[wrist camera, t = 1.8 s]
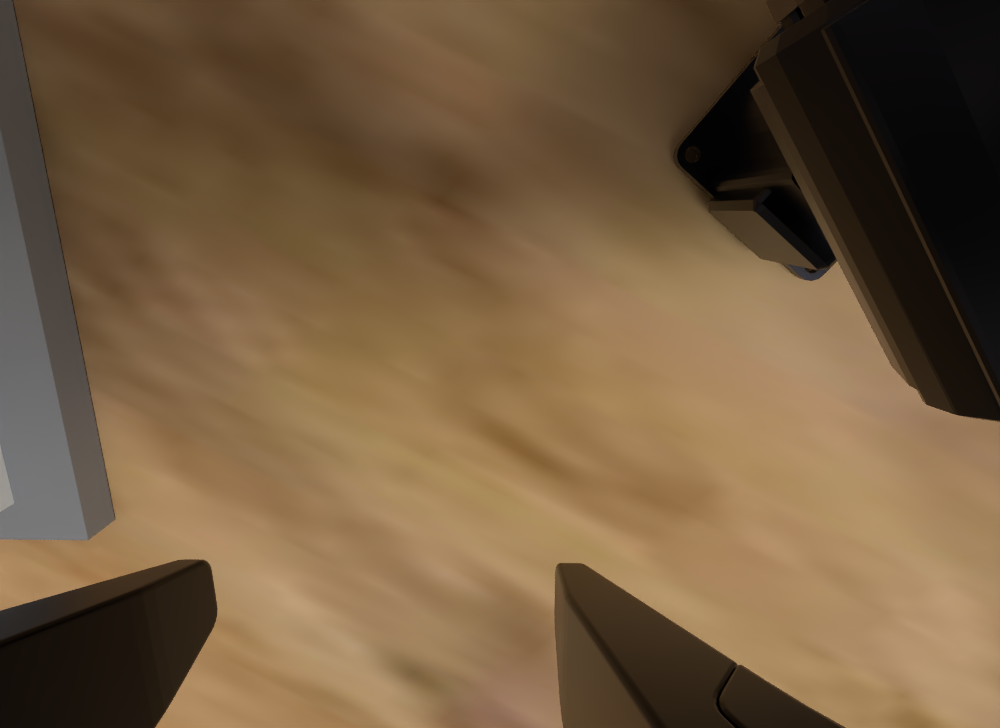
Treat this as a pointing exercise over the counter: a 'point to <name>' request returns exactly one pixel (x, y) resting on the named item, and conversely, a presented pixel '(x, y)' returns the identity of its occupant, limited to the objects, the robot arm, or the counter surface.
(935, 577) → the counter surface
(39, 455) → the console
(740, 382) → the counter surface
